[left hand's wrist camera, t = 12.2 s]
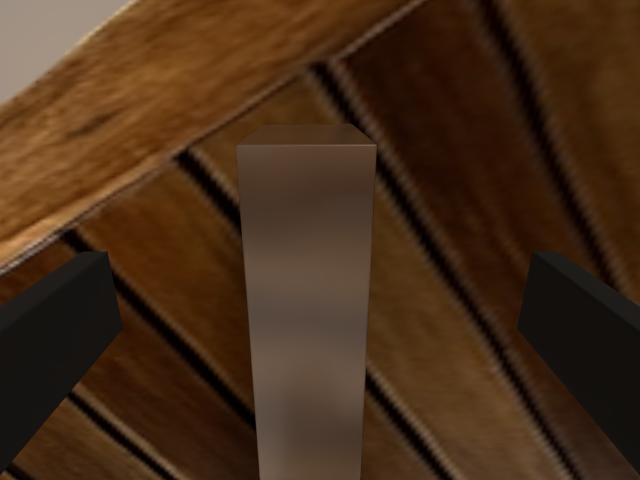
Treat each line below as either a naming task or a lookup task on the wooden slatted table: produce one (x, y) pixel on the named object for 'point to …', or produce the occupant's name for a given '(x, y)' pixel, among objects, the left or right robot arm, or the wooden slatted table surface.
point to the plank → (307, 293)
